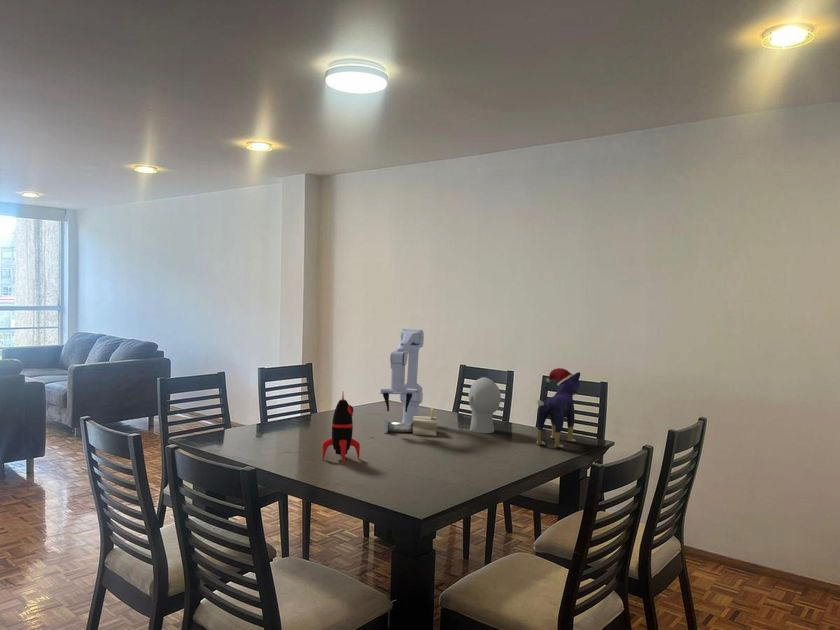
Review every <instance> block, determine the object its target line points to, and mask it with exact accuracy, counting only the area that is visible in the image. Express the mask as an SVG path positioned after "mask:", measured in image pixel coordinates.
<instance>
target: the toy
mask: <svg viewBox="0 0 840 630" xmlns="http://www.w3.org/2000/svg"><path fill="white" fill-rule="evenodd" d="M580 377H581V372H580V371H579V372H576V373H575V374H573V373H572V372H570V371H569V370H567V369H565V368H563V367H562V368H561V367H560V368H559V367H557V368H554V369H552V370H551V371H550V372H549V375H548V377H546V380H545V381H546V382H547V383H550V382H551V380H555V381H556V386H557V387H558V388H557V391H556V393H555V394H554V395H553V396H551V397H549V398H547V399H545V400H543V401H542V400H541V399H538V400H536V401H537V406H538V407H537V412H536V423H537V424H536V425H537V427H536V444H537V445H540V446H541V445H542V446H545V445H546V442H544V441H542V432H543V428H544V426H545V423H546V420H547V418H548V417H549V419H550V424H551V435H550V439H554V448H559V449H560V448H561V449H563V448H564V445H563V444H562V443H561V444H560V436H561V432H562V430H563V428H564V421H565V419H566V423H567V439H566V441H568V442H574V443H575V442H576V439H575V438H573V434H574V427H575V404H574V398H573V397H574V396H575V395H577V393H578V390H579V387H580Z"/></svg>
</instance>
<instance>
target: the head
mask: <svg viewBox="0 0 840 630" xmlns="http://www.w3.org/2000/svg"><path fill="white" fill-rule="evenodd" d="M501 395H502V393H501V391H500V388H499V386H498V385H497V384H496V383H495V382H494V381H493V380H492V379H490V378H488V377H485V376H484V377H480V378H478V379H476V380H474V382H473V383H472V384H471V386H470V388H469V392H468V395H467V396H468V403H469V407H470V409H471V421H470V427H469V431H470V432H473V433H476V434H492V433H494V432H495V427H494V420H493V417H494V413H496V412H497V411H498V409H499V407H500V404H501V402H502V397H501Z"/></svg>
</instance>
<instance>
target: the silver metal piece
mask: <svg viewBox="0 0 840 630" xmlns="http://www.w3.org/2000/svg"><path fill="white" fill-rule="evenodd" d="M383 426H384V427H383V433H384V434H387V433H388V432H394V433H395V432H396V433H397V432H399V433H413V423H402V421H401V422H400V421H399V422H397V421H395V422H394V421H390V422H389V416H387V415H386V416H384V425H383Z"/></svg>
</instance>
